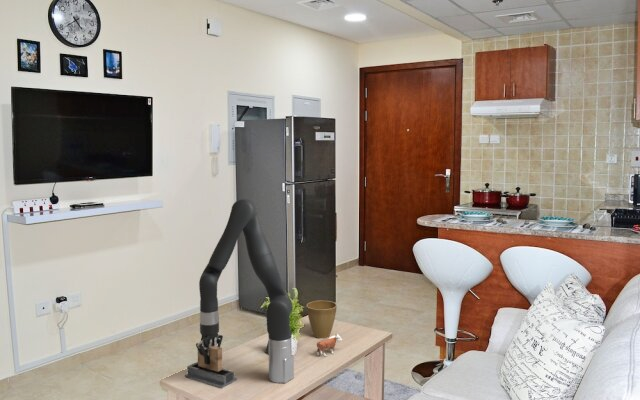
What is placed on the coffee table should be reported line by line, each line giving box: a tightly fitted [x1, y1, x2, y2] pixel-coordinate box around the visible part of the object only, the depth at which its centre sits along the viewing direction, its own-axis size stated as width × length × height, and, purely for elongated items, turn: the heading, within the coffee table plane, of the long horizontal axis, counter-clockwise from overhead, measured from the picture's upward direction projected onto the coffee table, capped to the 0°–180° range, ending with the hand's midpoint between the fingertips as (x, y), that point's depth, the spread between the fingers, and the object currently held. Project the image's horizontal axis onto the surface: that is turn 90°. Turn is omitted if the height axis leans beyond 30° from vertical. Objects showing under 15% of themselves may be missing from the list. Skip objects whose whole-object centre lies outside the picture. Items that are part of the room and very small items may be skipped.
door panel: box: [197, 346, 223, 372], centre depth 224 cm, size 11×2×9 cm, turn 58°
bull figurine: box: [316, 333, 343, 357], centre depth 251 cm, size 4×13×8 cm, turn 125°
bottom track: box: [184, 361, 238, 389], centre depth 225 cm, size 20×9×4 cm, turn 58°
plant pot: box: [306, 300, 338, 339], centre depth 274 cm, size 15×15×16 cm
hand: (210, 362), depth 224 cm, fingers closed on door panel, 2 cm apart
